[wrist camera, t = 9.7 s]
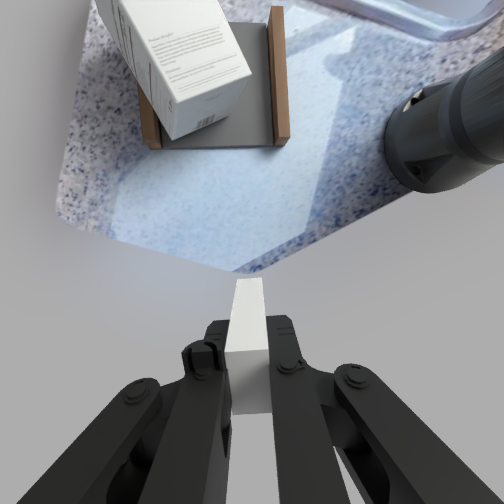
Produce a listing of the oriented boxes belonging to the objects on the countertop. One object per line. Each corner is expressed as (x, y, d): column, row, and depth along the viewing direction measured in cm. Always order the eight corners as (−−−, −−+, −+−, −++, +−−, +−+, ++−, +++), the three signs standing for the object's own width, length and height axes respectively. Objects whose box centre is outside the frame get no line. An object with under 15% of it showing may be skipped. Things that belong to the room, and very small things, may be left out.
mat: (265, 27, 32) (266, 23, 32) (272, 146, 33) (273, 144, 33) (152, 24, 31) (151, 19, 30) (164, 148, 32) (162, 147, 31)
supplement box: (230, 117, 32) (170, -4, 29) (254, 74, 24) (173, -103, 20) (170, 142, 29) (96, 14, 26) (174, 104, 21) (66, -92, 18)
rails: (277, 27, 32) (283, 6, 29) (284, 145, 33) (290, 136, 30) (138, 23, 30) (129, 0, 27) (150, 149, 31) (142, 140, 28)
